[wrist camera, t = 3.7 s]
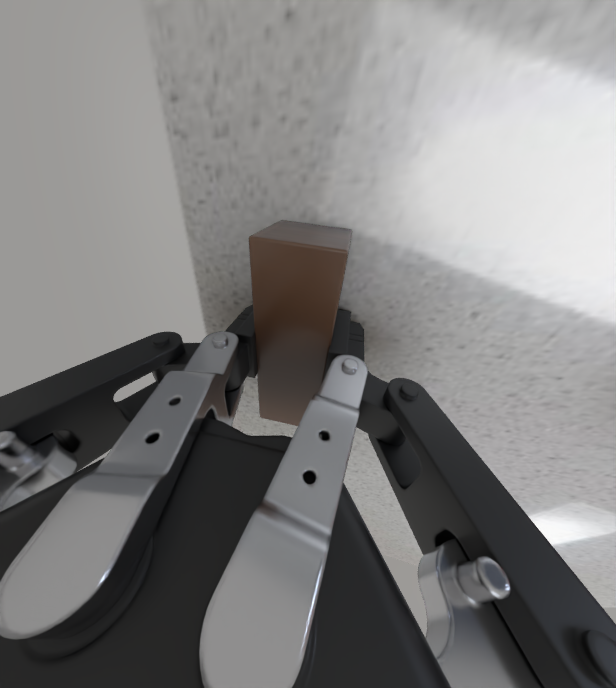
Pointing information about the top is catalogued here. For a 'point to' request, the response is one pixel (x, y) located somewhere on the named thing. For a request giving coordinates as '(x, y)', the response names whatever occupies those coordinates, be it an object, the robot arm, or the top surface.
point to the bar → (294, 311)
